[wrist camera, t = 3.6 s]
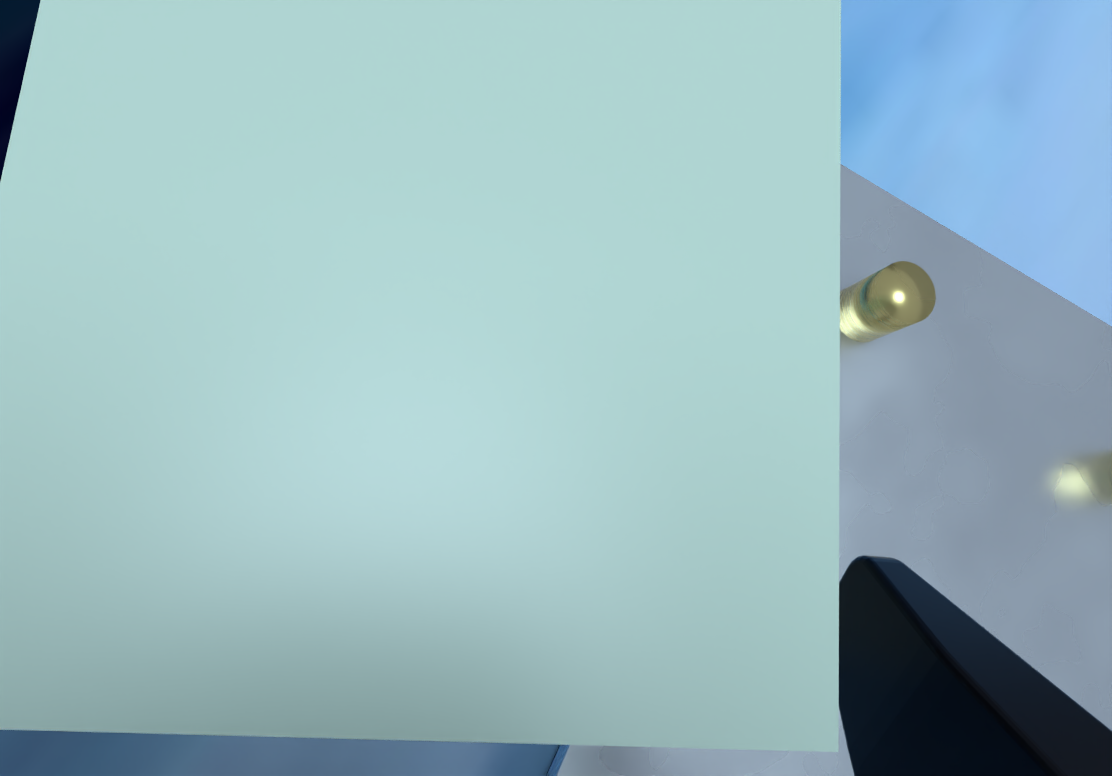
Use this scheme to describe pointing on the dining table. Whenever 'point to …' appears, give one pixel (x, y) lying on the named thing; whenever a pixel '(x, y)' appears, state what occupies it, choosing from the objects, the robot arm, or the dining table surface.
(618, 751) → the plate
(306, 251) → the module
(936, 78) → the dining table surface
